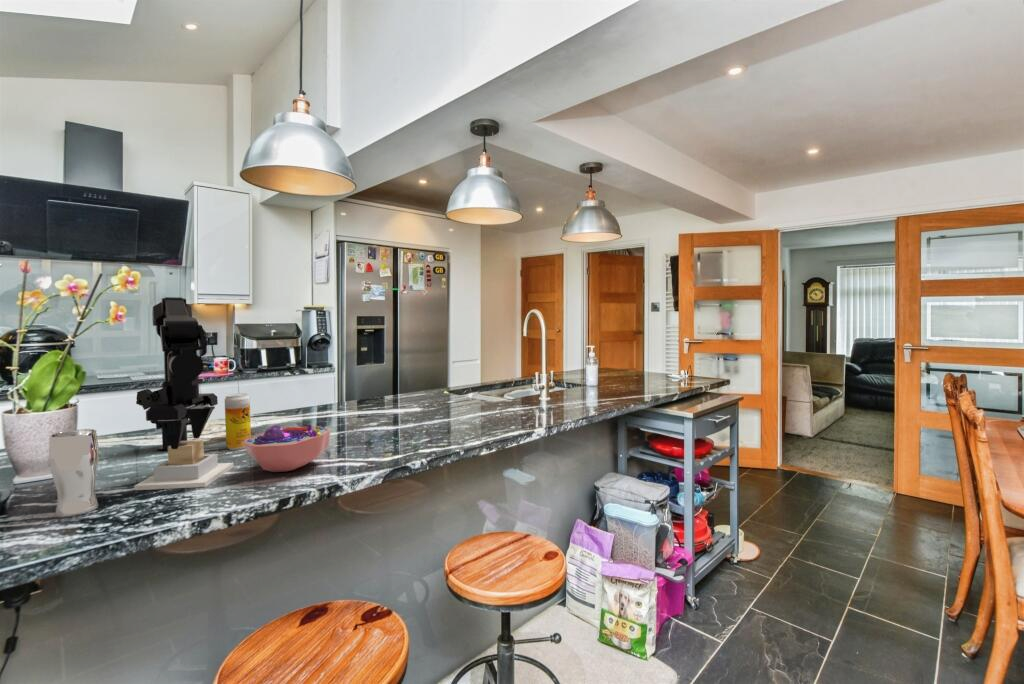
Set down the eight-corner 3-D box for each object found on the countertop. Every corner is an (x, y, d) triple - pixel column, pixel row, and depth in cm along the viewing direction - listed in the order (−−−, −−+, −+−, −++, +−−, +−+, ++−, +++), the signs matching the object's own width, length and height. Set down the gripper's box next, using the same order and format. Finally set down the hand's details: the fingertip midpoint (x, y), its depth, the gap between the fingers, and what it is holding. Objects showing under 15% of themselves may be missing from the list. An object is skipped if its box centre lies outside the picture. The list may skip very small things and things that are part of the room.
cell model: (346, 463, 120) (345, 419, 119) (267, 487, 103) (266, 435, 102) (307, 452, 129) (306, 411, 128) (229, 472, 113) (227, 425, 112)
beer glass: (48, 521, 86) (44, 439, 85) (56, 509, 92) (51, 432, 91) (99, 512, 90) (95, 433, 89) (103, 500, 96) (99, 427, 95)
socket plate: (171, 469, 115) (171, 453, 115) (233, 466, 117) (233, 450, 117) (134, 490, 101) (133, 471, 101) (205, 486, 103) (204, 468, 103)
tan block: (181, 470, 111) (180, 439, 111) (204, 469, 112) (203, 438, 112) (169, 477, 106) (167, 444, 106) (193, 476, 107) (191, 444, 107)
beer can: (240, 451, 131) (238, 397, 130) (221, 450, 132) (219, 396, 131) (256, 445, 136) (254, 393, 136) (237, 444, 138) (236, 392, 137)
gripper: (168, 371, 116) (171, 434, 117) (115, 381, 98) (119, 456, 98) (217, 370, 118) (219, 433, 118) (175, 380, 99) (178, 454, 100)
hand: (186, 443), depth 109 cm, fingers open, 9 cm apart
